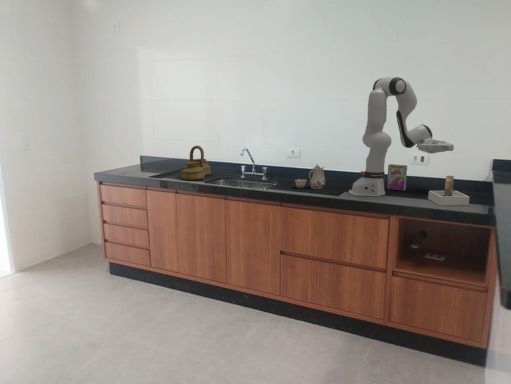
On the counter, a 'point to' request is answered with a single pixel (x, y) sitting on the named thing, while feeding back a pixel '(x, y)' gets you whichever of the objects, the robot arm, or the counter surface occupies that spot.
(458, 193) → the bore box
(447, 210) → the counter surface
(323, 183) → the chinaware
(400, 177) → the candy bar box
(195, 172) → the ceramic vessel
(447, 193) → the wooden peg
